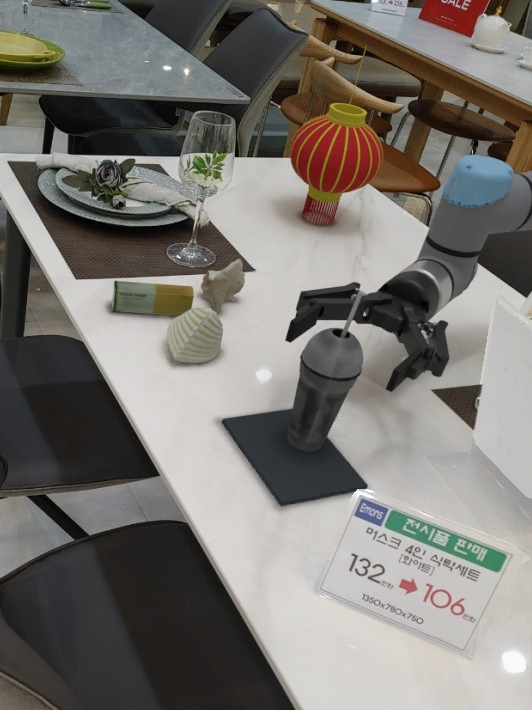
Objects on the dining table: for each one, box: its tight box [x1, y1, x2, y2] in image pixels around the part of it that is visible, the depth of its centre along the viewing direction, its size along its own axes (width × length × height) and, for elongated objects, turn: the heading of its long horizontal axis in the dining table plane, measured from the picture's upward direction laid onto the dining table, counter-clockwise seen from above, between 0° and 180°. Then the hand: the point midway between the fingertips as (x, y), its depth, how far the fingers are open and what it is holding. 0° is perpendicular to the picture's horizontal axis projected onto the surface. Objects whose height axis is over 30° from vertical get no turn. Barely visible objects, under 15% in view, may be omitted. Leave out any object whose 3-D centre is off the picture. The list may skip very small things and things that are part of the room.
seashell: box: [166, 306, 224, 364], centre depth 108 cm, size 8×8×8 cm
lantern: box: [288, 45, 384, 227], centre depth 140 cm, size 17×17×30 cm
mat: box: [221, 408, 369, 507], centre depth 95 cm, size 16×12×1 cm
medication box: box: [111, 280, 195, 317], centre depth 115 cm, size 12×3×4 cm, turn 93°
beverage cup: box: [287, 293, 364, 452], centre depth 90 cm, size 7×7×20 cm
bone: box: [200, 258, 246, 314], centre depth 118 cm, size 9×6×10 cm
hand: (339, 355), depth 89 cm, fingers open, 13 cm apart
